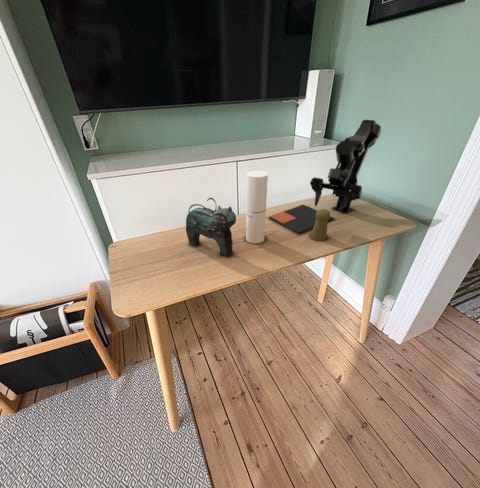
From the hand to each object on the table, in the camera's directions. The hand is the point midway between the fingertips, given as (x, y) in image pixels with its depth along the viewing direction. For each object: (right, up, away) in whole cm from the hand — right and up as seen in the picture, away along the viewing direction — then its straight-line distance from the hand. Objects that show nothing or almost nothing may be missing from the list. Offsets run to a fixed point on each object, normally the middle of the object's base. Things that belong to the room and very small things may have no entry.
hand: (326, 208), depth 98 cm
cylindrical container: (-27, -11, +4) cm, 30 cm away
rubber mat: (-6, -1, +17) cm, 18 cm away
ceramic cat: (-44, -16, -2) cm, 47 cm away
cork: (-2, -10, +4) cm, 11 cm away
